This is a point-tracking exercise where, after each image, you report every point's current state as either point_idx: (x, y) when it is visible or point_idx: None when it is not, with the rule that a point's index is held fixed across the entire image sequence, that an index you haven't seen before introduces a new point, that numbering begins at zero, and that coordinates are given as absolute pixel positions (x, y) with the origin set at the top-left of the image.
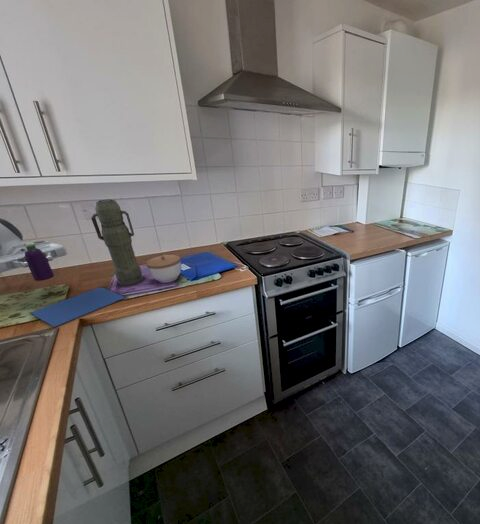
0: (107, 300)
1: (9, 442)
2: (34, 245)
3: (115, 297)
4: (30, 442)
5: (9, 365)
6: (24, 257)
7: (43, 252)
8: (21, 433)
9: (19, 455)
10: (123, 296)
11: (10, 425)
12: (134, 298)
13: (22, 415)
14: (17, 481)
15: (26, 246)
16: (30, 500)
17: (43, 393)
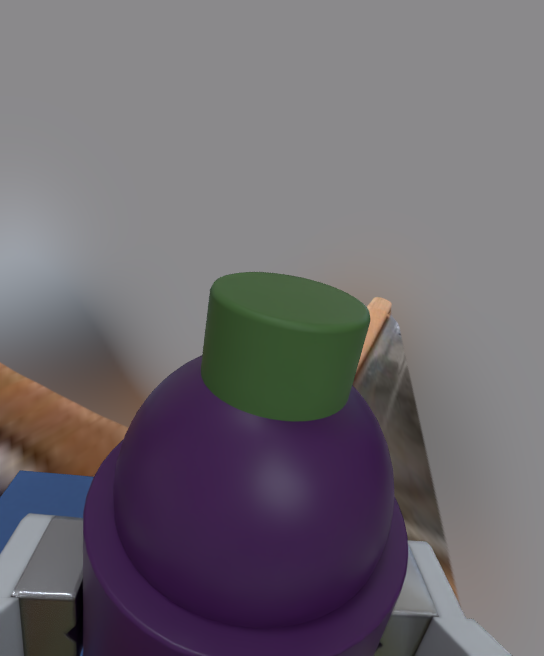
0: (66, 511)
1: (397, 331)
2: (227, 281)
3: (26, 506)
4: (380, 321)
5: (415, 431)
6: (398, 505)
7: (94, 482)
8: (387, 330)
9: (388, 320)
10: (12, 482)
11: (398, 342)
12: (23, 443)
13: (387, 343)
14: (388, 310)
15: (359, 304)
16: (380, 301)
17: (364, 349)
